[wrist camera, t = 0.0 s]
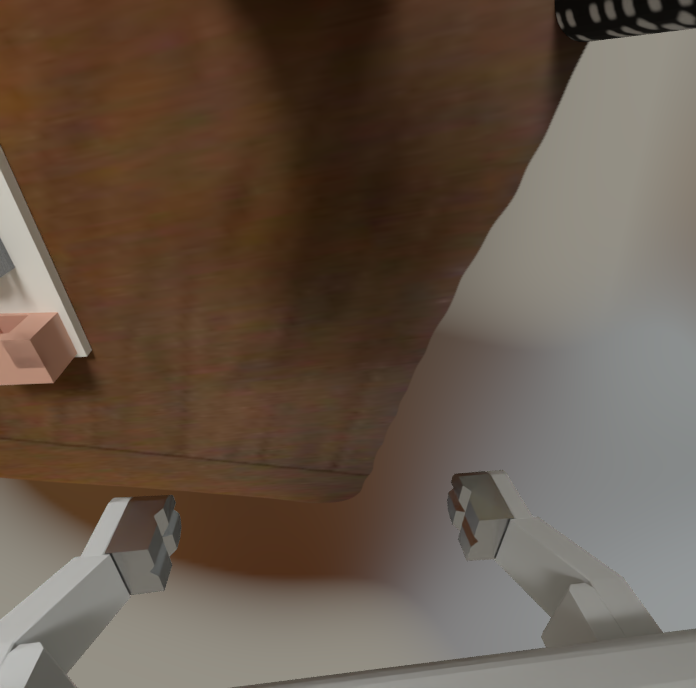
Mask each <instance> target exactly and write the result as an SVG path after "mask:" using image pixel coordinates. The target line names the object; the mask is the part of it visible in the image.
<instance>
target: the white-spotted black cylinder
mask: <svg viewBox="0 0 696 688" xmlns="http://www.w3.org/2000/svg"><path fill="white" fill-rule="evenodd" d="M555 9H556V16H557V20H558V23H559V25H560V27H561V29H562V31H563V32H564V33H565V34H566V35H567V36H568V37H570V38H571V39H573V40H576V41H579V42H588V41H596V40H604V39H613V38H621V37H629V36H636V35H645V34H653V33H661V32H669V31H678V30H685V29H693V28H696V0H555Z"/></svg>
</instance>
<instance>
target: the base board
mask: <svg viewBox="0 0 696 688" xmlns="http://www.w3.org/2000/svg"><path fill="white" fill-rule="evenodd" d="M0 238H1V240H2V242H3V244H4V246H5V248H6V250H7V252H8V254H9V256H10V258H11V260H12V262H13V264H14V266H15V268H14V269H12V270H11V271H9V272H8V273H6V274H5V275H3V276H2V277H0V313H46V312H58V314H59V316H60V318H61V320H62V322H63V324H64V326H65V328H66V331H67V333H68V335H69V337H70V339H71V341H72V343H73V345H74V347H75V349H76V351H77V355H76V356H75V357H87V356H88V355H89V353H90V352H91V351H92V349H91V347H90V345H89V342H88V340H87V338H86V336H85V333H84V331H83V329H82V327H81V324H80V322H79V320H78V318H77V316H76V313H75V311H74V309H73V307H72V304H71V302H70V300H69V298H68V295H67V293H66V291H65V289H64V286H63V284H62V282H61V280H60V278H59V275H58V273H57V271H56V269H55V266H54V264H53V262H52V260H51V257H50V255H49V253H48V251H47V248H46V246H45V244H44V242H43V240H42V237H41V235H40V233H39V231H38V228H37V226H36V224H35V222H34V219H33V217H32V215H31V213H30V211H29V208H28V206H27V204H26V202H25V199H24V197H23V195H22V193H21V190H20V188H19V186H18V184H17V181H16V179H15V177H14V175H13V173H12V170H11V168H10V166H9V164H8V161H7V159H6V157H5V155H4V152H3V150H2V148H1V146H0Z"/></svg>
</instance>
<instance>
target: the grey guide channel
mask: <svg viewBox="0 0 696 688" xmlns="http://www.w3.org/2000/svg"><path fill="white" fill-rule="evenodd" d="M14 268H15V266H14V264H13V262H12V260H11V258H10V256H9V254H8V252H7V250H6V248H5V246H4V244H3V242H2V240H1V238H0V277H2V276H3V275H5V274H6V273H8V272H9V271H11V270H12V269H14Z"/></svg>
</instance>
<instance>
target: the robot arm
mask: <svg viewBox="0 0 696 688" xmlns="http://www.w3.org/2000/svg"><path fill="white" fill-rule="evenodd" d="M451 483H452V486H453V489H452V490H451V491H450V492H449V493H448V499H447V504H448V512H449V516H450V519H451V522H452V524H453V525H454V526H455V527H456V528H457V529H458V530H460V533H459V538H458V540H459V542H460V545H461V548H462V550H463V553H464V555H465V558H466V560H467V561H473V560H486V559H495V561H496V562H497V563H498V564H499V565H500V566H501V567H502V568H503V569H504V570H505V571H506V572H507V573H508V574H509V575H510V576H511V577H512V578H513V579H514V580H515V581H516V582H517V583H518V584H519V585H520V586H521V587H522V588H523V589H524V591H525V592H526V593H527V594H528V595H529V596H531V598H533V600H534V601H535V602H536V603H537V604H538V605H539V606H540V607H542V609H543V610H544V611H545V612H546V613H547V614H548V615H549V616H550V617H551V619H550V621H549V623H548V624H547V626H546V628H545V630H544V631H543V634H542V636H541V638H542V639H543V642H544V644H545V646H546V648H539V649H531V650H523V651H516V652H508V653H500V654H492V655H484V656H476V657H468V658H460V659H453V660H444V661H437V662H429V663H421V664H413V665H405V666H398V667H389V668H382V669H374V670H366V671H358V672H350V673H342V674H334V675H326V676H319V677H311V678H304V679H295V680H287V681H279V682H271V683H263V684H255V685H248V686H240V687H232V688H696V629H689V630H681V631H673V632H665V633H663V632H662V631H661V629H660V628H659V626H658V625H657V624H656V622H655V621H654V619H653V618H652V617H651V616H650V614H649V613H648V611H647V610H646V608H645V607H644V606H643V604H642V603H641V601H640V600H639V599H638V597H637V596H636V594H635V593H634V592H633V590H632V589H631V588H630V586H629V585H628V583H627V582H626V581H625V579H624V578H623V577H622V576H620V575H619V574H618V573H616V572H615V571H613V570H612V569H610V568H609V567H608V566H606V565H605V564H604V563H602V562H601V561H599V560H598V559H597V558H595V557H594V556H592V555H591V554H589V553H588V552H587V551H585V550H584V549H582V548H581V547H580V546H578V545H577V544H575V543H574V542H573V541H571V540H570V539H568V538H567V537H565V536H564V535H563V534H561V533H560V532H559V531H557V530H556V529H554V528H553V527H551V526H550V525H549V524H547V523H546V522H544V521H543V520H542V519H540V518H539V517H533V516H532V514H531V513H530V511H529V510H528V508H527V506H526V505H525V503H524V502H523V500H522V498H521V496H520V495H519V493H518V492H517V490H516V488H515V487H514V485H513V483H512V482H511V480H510V478H509V477H508V475H507V474H506V472H504V471H503V470H499V471H487V472H485V471H481V472H471V473H458V474H454V475H453V477H452V480H451ZM175 503H176V502H175V500H174V497H173V495H161V496H140V497H122V498H113V499H112V500H111V501H110V502H109V503H108V505H107V507H106V509H105V511H104V513H103V514H102V516H101V518H100V520H99V522H98V524H97V526H96V528H95V530H94V532H93V534H92V536H91V537H90V539H89V541H88V543H87V545H86V547H85V549H84V551H83V553H82V555H81V557H74V558H73V559H72V560H71V561H69V562H68V563H67V564H66V565H65V566H63V567H62V568H61V569H60V570H59V571H58V572H56V573H55V574H54V575H53V576H52V577H50V578H49V579H48V580H47V581H46V582H44V584H42V585H41V586H40V587H39V588H37V589H36V590H35V591H34V592H33V593H31V594H30V595H29V596H28V597H27V598H26V599H24V600H23V601H22V602H21V603H20V604H19V605H17V606H16V607H15V608H14V609H12V610H11V611H10V612H9V613H8V614H7V615H5V616H4V617H3V618H2V619H1V620H0V688H77V687H76V685H75V684H74V683H73V682H72V681H71V679H70V678H69V677H68V676H67V673H68V672H69V670H70V669H71V668H72V667H73V666H74V664H75V663H76V662H77V661H78V660H79V658H80V657H81V656H82V655H83V654H84V652H85V651H86V650H87V649H88V648H89V646H90V645H91V644H92V643H93V642H94V640H95V639H96V638H97V637H98V636H99V634H100V633H101V632H102V631H103V630H104V628H105V627H106V626H107V625H108V624H109V622H110V621H111V620H112V619H113V617H114V616H115V615H116V614H117V613H118V612H119V610H120V609H121V608H122V607H123V605H124V604H125V603H126V602H127V601H128V599H129V598H130V595H134V594H142V593H150V592H158V591H164V590H165V587H166V584H167V581H168V577H169V574H170V571H171V567H172V563H171V560H170V558H169V556H170V555H171V554H172V553H173V552H174V551H175V550H176V549H177V547H178V543H179V540H180V533H181V519H180V515H179V513H178V512H176V511H175V510H174V506H175Z"/></svg>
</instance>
